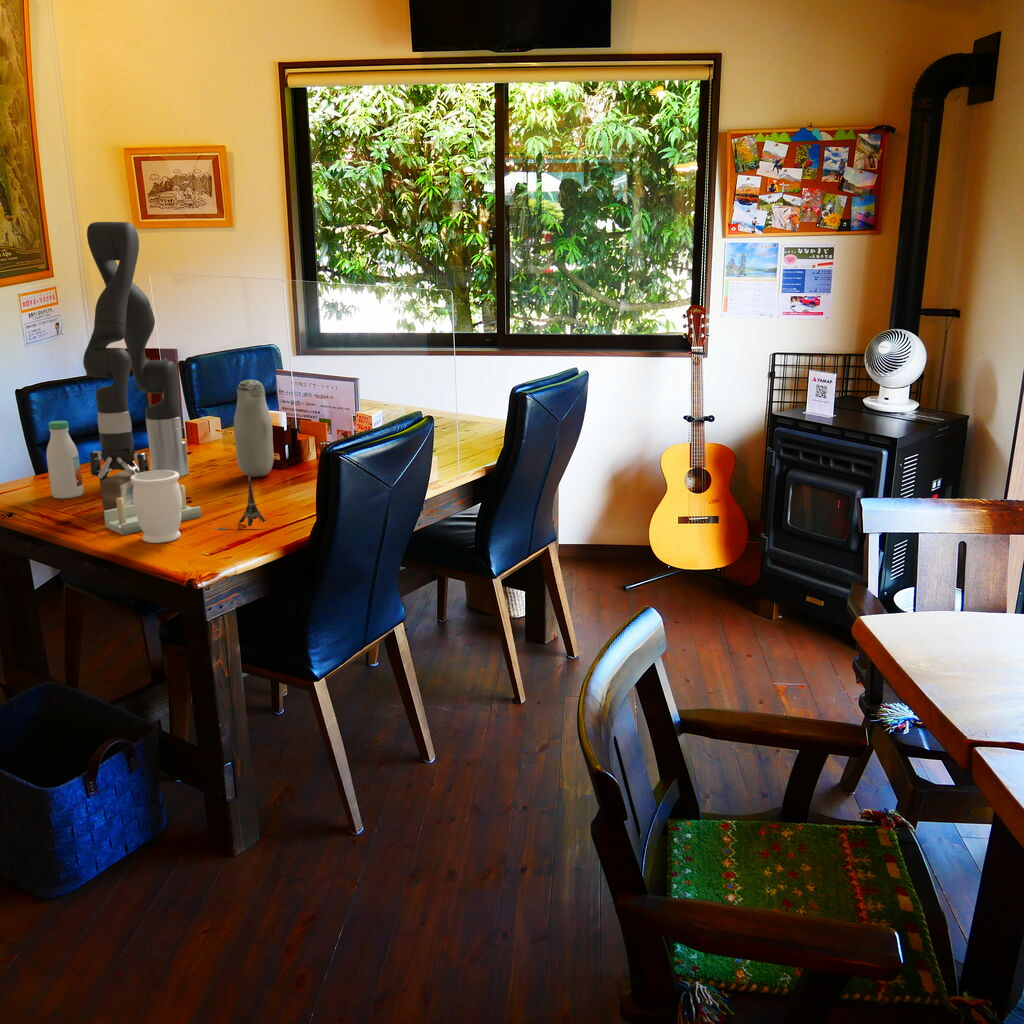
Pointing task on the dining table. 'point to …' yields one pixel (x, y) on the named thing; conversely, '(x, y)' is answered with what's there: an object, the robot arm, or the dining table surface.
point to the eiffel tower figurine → (249, 508)
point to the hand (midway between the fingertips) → (122, 492)
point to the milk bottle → (63, 463)
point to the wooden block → (117, 490)
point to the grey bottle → (253, 430)
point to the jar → (158, 504)
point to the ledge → (127, 520)
